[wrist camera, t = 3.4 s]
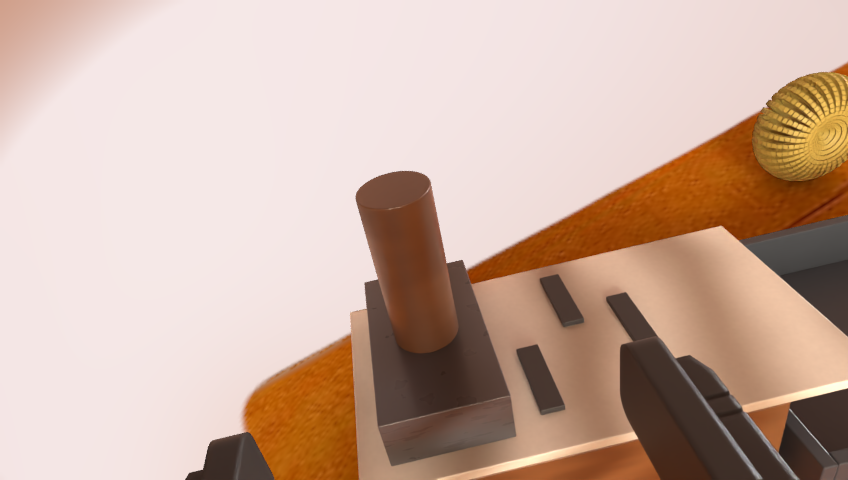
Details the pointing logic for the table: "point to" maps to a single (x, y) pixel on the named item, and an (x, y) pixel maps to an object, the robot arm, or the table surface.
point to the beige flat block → (600, 357)
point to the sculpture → (804, 128)
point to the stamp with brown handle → (426, 331)
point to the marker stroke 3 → (630, 317)
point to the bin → (844, 307)
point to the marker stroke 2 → (540, 380)
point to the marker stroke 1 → (561, 300)
